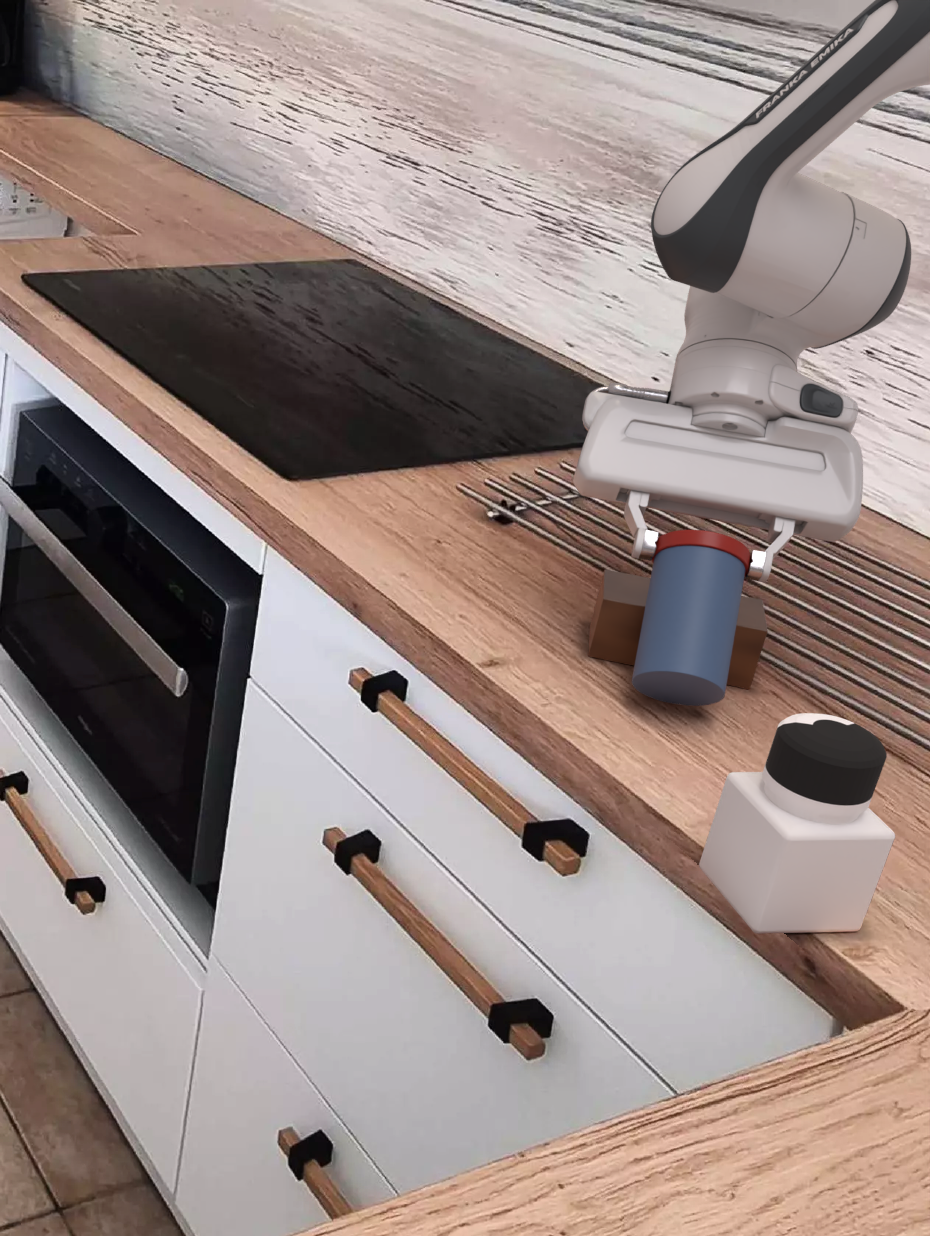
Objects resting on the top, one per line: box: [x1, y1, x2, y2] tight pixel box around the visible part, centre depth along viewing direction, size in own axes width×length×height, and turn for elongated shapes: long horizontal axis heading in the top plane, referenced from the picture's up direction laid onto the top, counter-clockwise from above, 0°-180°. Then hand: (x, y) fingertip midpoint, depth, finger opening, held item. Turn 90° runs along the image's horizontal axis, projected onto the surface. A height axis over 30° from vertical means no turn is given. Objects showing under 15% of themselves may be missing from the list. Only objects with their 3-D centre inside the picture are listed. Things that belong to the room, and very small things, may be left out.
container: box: [631, 529, 751, 707], centre depth 127 cm, size 7×12×12 cm, turn 164°
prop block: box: [587, 569, 769, 690], centre depth 134 cm, size 12×6×5 cm, turn 73°
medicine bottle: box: [698, 712, 896, 935], centre depth 103 cm, size 7×7×12 cm
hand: (699, 567), depth 128 cm, fingers closed on container, 7 cm apart
